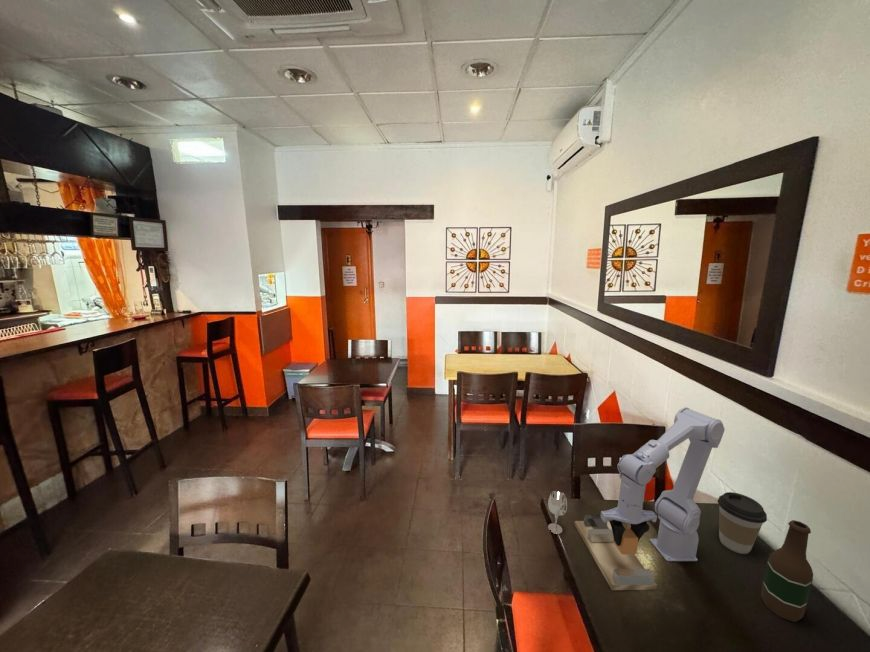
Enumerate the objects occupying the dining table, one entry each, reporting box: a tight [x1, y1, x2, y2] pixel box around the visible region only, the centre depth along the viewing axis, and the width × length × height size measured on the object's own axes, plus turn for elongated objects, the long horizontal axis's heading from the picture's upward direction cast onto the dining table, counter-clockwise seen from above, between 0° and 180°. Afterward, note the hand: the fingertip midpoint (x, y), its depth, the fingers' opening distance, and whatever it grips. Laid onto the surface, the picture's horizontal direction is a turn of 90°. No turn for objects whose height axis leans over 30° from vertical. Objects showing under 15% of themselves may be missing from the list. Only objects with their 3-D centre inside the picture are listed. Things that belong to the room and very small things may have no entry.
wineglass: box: [547, 490, 568, 535], centre depth 110 cm, size 6×6×12 cm
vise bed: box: [574, 520, 658, 591], centre depth 102 cm, size 12×23×2 cm, turn 2°
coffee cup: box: [716, 491, 768, 555], centre depth 105 cm, size 11×11×15 cm
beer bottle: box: [760, 519, 814, 623], centre depth 84 cm, size 8×8×24 cm
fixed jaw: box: [612, 568, 656, 585], centre depth 91 cm, size 10×2×3 cm, turn 92°
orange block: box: [614, 526, 639, 555], centre depth 94 cm, size 4×4×5 cm
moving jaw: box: [583, 514, 614, 542], centre depth 108 cm, size 10×8×3 cm
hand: (624, 542), depth 95 cm, fingers closed on orange block, 4 cm apart
